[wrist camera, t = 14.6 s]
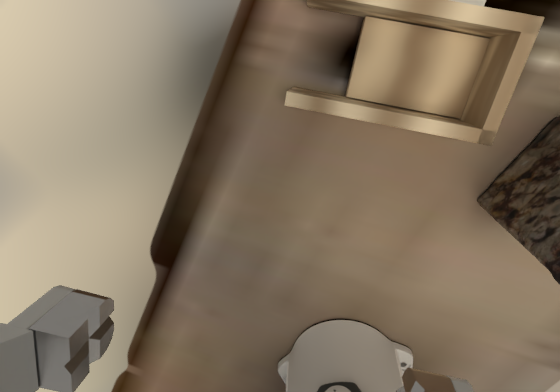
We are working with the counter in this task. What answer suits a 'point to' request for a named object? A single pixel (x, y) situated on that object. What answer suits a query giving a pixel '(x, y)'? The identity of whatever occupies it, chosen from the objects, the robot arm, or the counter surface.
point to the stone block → (532, 198)
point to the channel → (429, 66)
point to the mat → (472, 2)
